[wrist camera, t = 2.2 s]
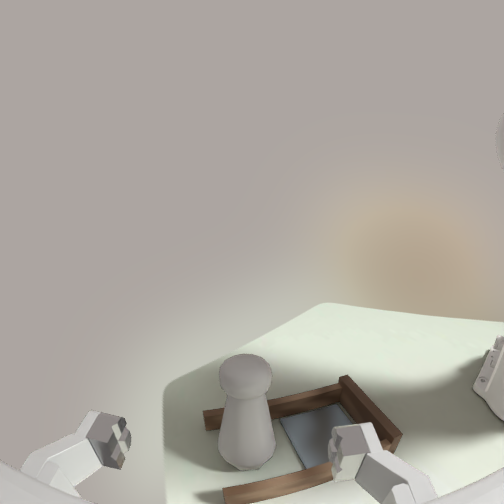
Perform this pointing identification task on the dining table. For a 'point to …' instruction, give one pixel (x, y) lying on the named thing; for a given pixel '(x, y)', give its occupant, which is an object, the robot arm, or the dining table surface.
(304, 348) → the dining table surface
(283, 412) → the bay
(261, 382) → the salt shaker
